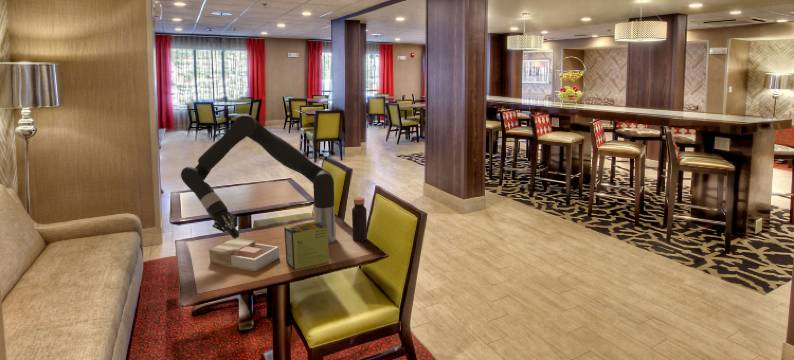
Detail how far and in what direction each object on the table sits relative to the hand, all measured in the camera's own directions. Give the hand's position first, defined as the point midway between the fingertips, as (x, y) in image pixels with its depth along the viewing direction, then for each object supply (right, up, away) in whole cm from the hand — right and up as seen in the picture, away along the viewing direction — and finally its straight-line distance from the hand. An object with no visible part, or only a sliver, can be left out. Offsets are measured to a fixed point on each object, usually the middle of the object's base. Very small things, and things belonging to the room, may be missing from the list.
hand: (237, 237), depth 212 cm
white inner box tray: (+8, -11, -1) cm, 13 cm away
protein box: (+30, -11, 0) cm, 31 cm away
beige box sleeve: (-3, -10, +4) cm, 11 cm away
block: (+2, -7, 0) cm, 7 cm away
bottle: (+50, -4, +27) cm, 57 cm away
